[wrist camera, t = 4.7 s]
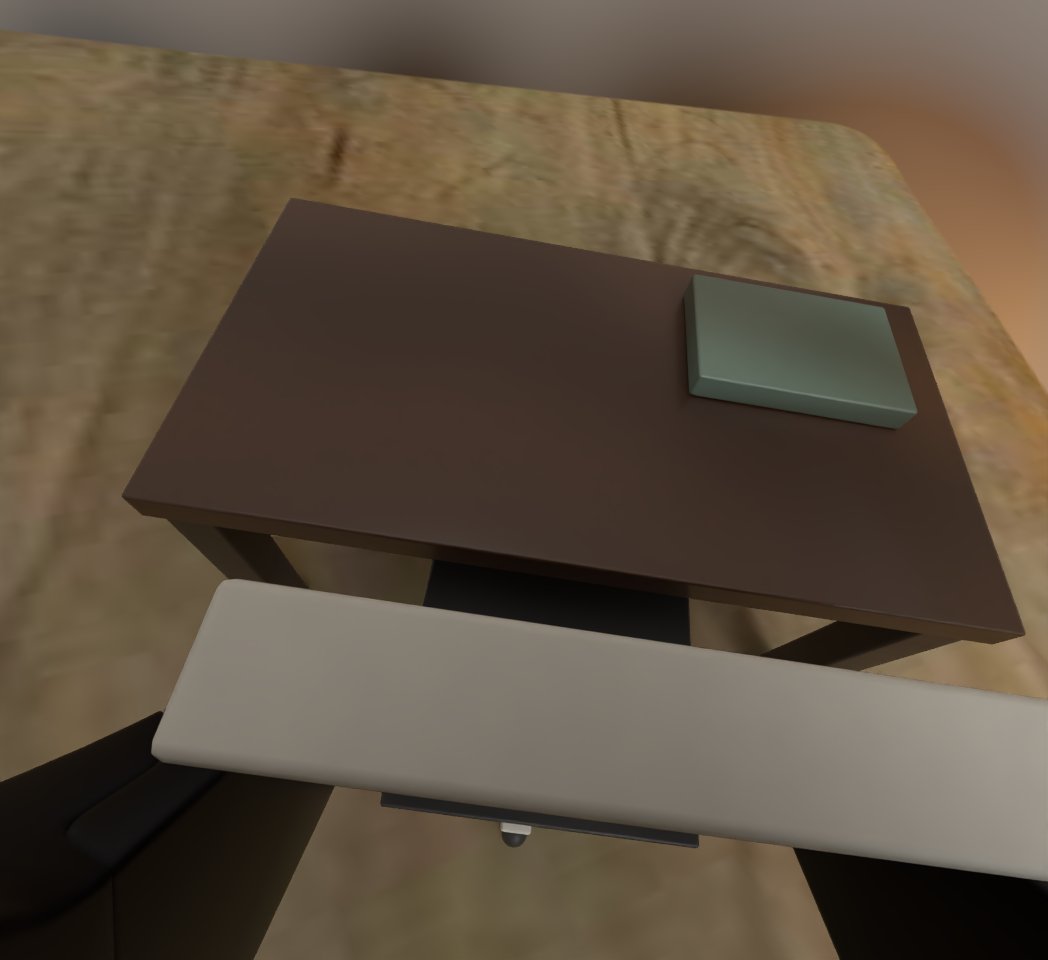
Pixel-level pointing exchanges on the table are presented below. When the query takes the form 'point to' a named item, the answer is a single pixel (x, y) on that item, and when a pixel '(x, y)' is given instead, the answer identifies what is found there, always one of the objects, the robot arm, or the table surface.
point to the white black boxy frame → (605, 723)
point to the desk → (581, 432)
